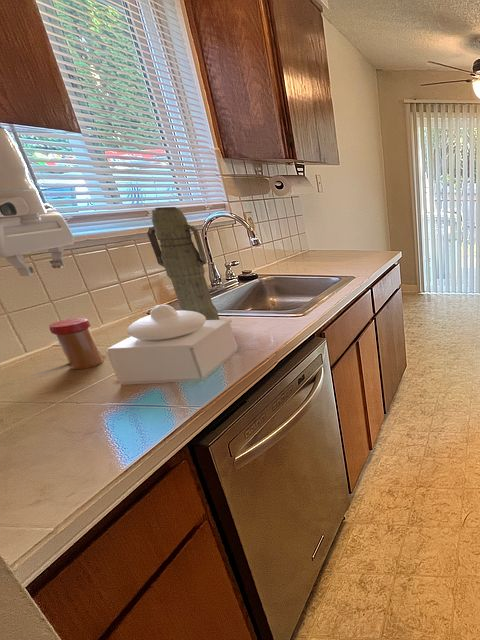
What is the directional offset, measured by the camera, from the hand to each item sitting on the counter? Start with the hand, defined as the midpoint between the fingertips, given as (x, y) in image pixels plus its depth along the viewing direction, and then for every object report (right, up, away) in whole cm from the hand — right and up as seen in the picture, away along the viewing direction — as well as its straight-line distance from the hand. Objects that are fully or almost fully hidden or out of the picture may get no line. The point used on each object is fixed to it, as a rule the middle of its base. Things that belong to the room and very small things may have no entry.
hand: (44, 271), depth 90 cm
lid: (0, -11, +5) cm, 12 cm away
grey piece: (+16, -12, +30) cm, 36 cm away
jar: (0, -21, +10) cm, 23 cm away
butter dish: (+26, -22, +8) cm, 35 cm away
